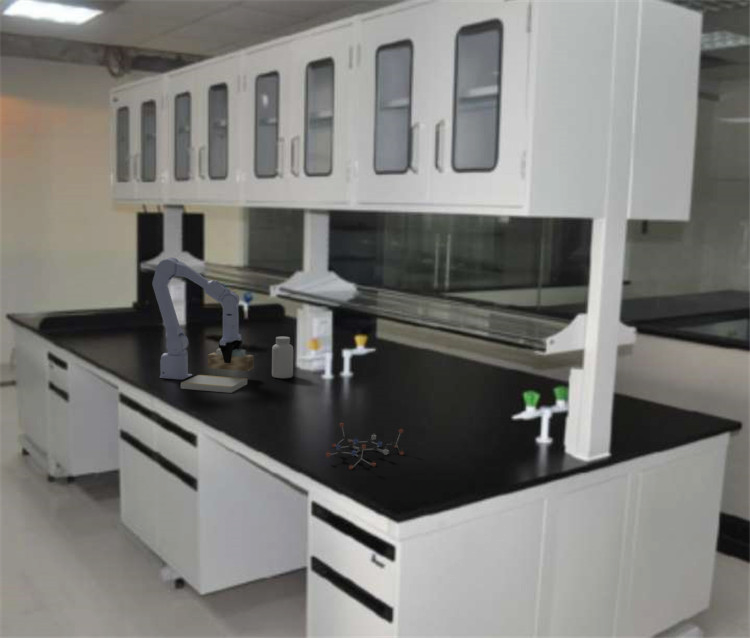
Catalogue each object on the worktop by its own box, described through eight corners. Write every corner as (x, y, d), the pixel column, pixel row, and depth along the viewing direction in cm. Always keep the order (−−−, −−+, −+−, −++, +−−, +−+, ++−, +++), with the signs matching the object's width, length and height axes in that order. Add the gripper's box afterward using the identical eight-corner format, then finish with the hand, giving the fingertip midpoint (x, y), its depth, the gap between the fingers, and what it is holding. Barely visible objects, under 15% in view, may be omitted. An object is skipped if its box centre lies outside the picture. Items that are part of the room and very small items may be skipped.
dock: (180, 388, 281) (180, 382, 281) (198, 380, 295) (198, 374, 295) (231, 392, 277) (231, 386, 277) (247, 384, 290) (247, 378, 290)
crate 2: (231, 356, 296) (231, 350, 296) (235, 354, 300) (235, 349, 299) (241, 356, 295) (241, 351, 295) (245, 355, 299) (245, 349, 298)
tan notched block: (207, 368, 298) (207, 354, 298) (213, 365, 303) (213, 352, 302) (248, 371, 294) (248, 357, 294) (253, 368, 299) (253, 355, 299)
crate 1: (216, 355, 297) (216, 349, 297) (220, 353, 301) (220, 347, 301) (225, 355, 296) (225, 350, 296) (230, 353, 300) (230, 348, 300)
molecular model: (417, 455, 214) (366, 438, 229) (418, 429, 213) (367, 413, 228) (351, 474, 198) (300, 454, 212) (352, 446, 197) (301, 428, 211)
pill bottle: (289, 379, 299) (289, 339, 297) (268, 378, 301) (269, 338, 299) (295, 375, 307) (296, 336, 305) (275, 373, 309) (275, 335, 306)
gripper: (232, 328, 289) (232, 365, 290) (248, 323, 302) (248, 358, 304) (214, 327, 290) (214, 364, 292) (231, 321, 304) (231, 357, 306)
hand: (230, 361), depth 298 cm, fingers closed on tan notched block, 5 cm apart
